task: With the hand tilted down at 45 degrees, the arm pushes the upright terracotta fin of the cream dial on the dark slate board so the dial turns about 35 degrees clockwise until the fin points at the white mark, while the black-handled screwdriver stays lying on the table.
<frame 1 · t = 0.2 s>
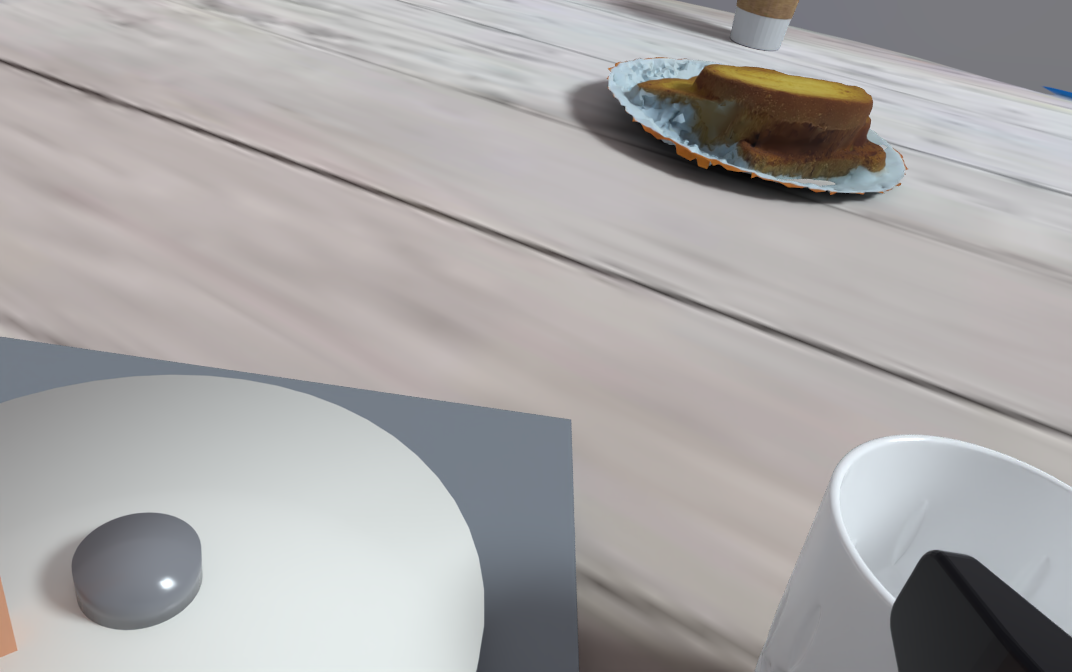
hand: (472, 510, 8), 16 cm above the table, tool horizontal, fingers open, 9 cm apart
board: (149, 659, 24), on the table
dial: (103, 494, 21), point 6 cm above the table, hinge at 0.0°
food on plate: (744, 145, 73), on the table
coffee cup: (753, 44, 103), on the table
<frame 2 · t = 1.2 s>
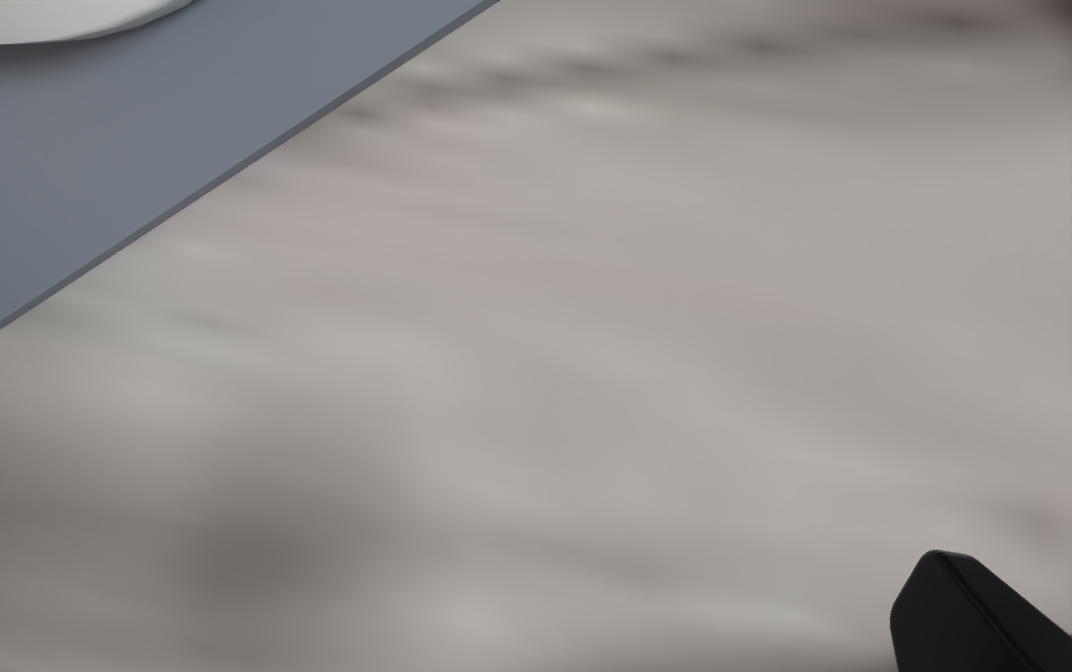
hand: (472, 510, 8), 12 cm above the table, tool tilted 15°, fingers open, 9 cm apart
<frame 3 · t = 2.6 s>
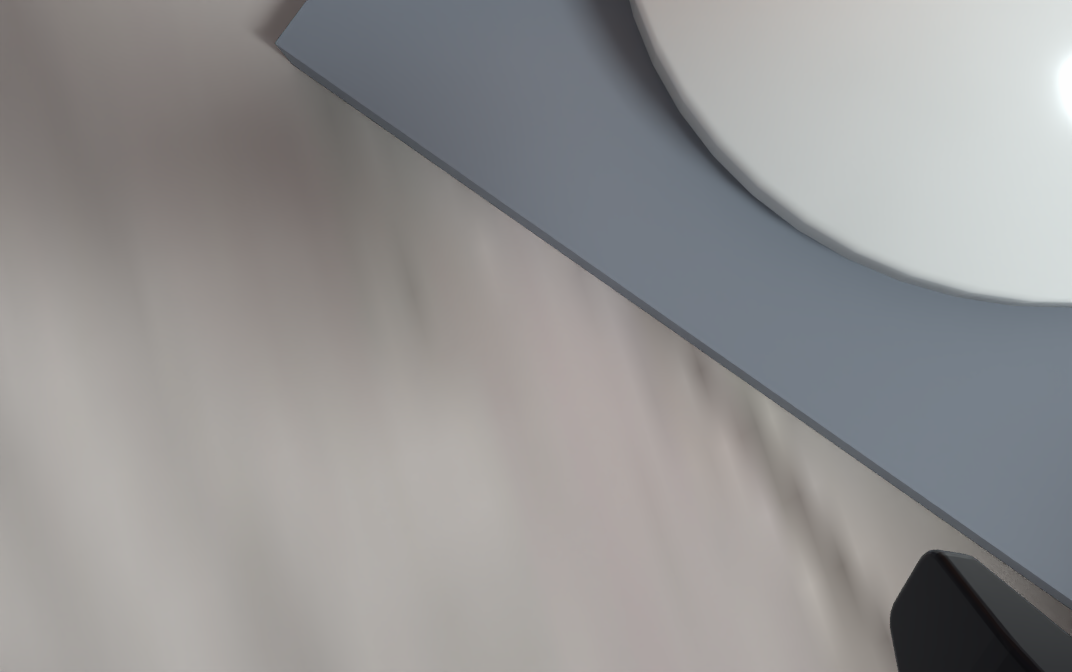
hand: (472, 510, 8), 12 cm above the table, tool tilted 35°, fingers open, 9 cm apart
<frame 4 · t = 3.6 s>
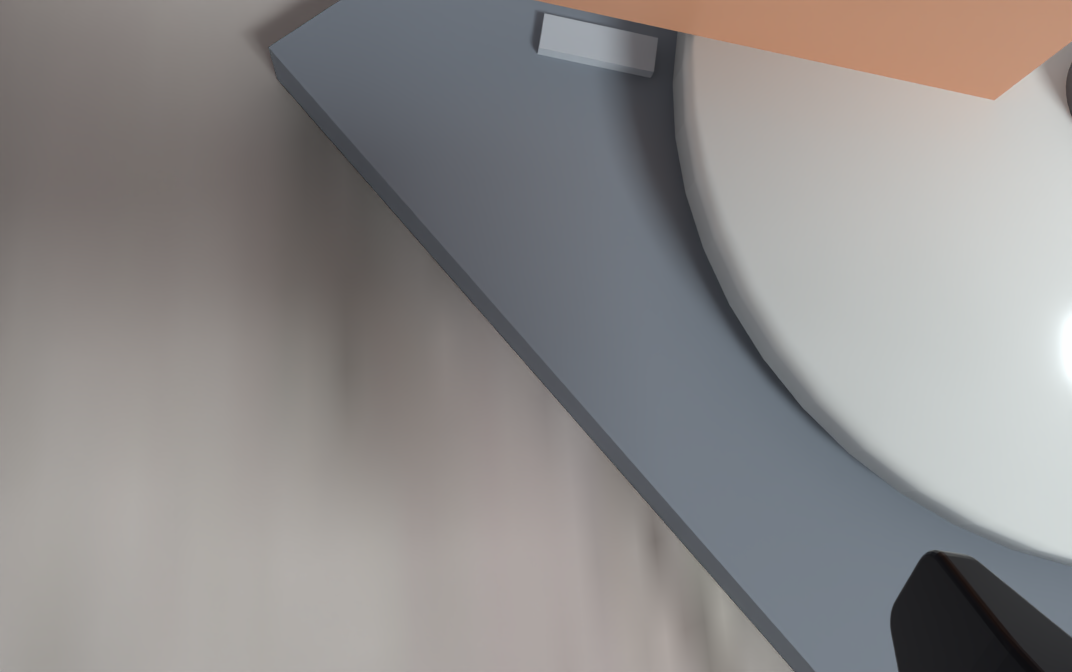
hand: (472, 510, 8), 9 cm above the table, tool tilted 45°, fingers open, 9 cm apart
board: (1025, 170, 20), on the table
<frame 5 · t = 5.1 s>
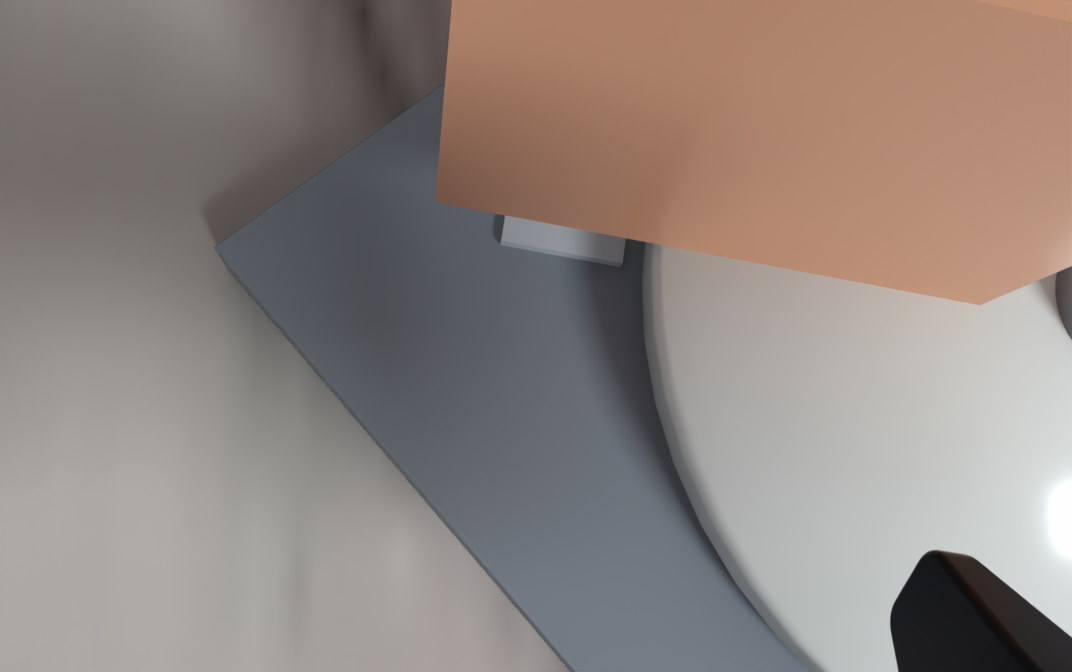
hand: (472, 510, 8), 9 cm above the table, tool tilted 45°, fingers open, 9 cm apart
board: (1014, 342, 19), on the table
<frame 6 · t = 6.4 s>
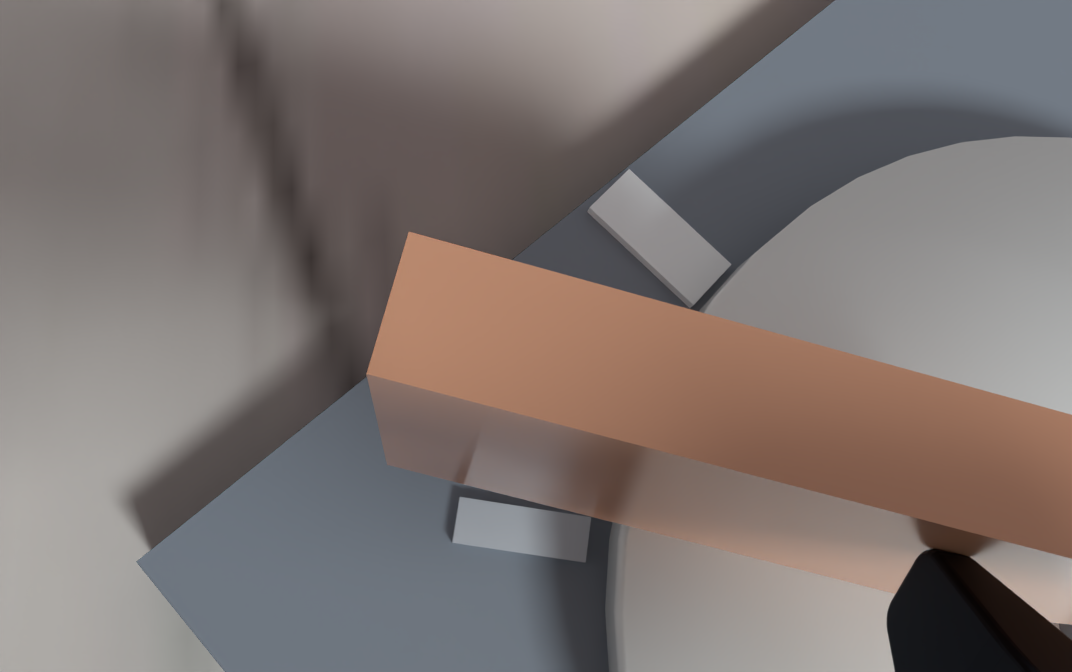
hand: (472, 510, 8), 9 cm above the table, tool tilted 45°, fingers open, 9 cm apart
board: (1012, 607, 18), on the table
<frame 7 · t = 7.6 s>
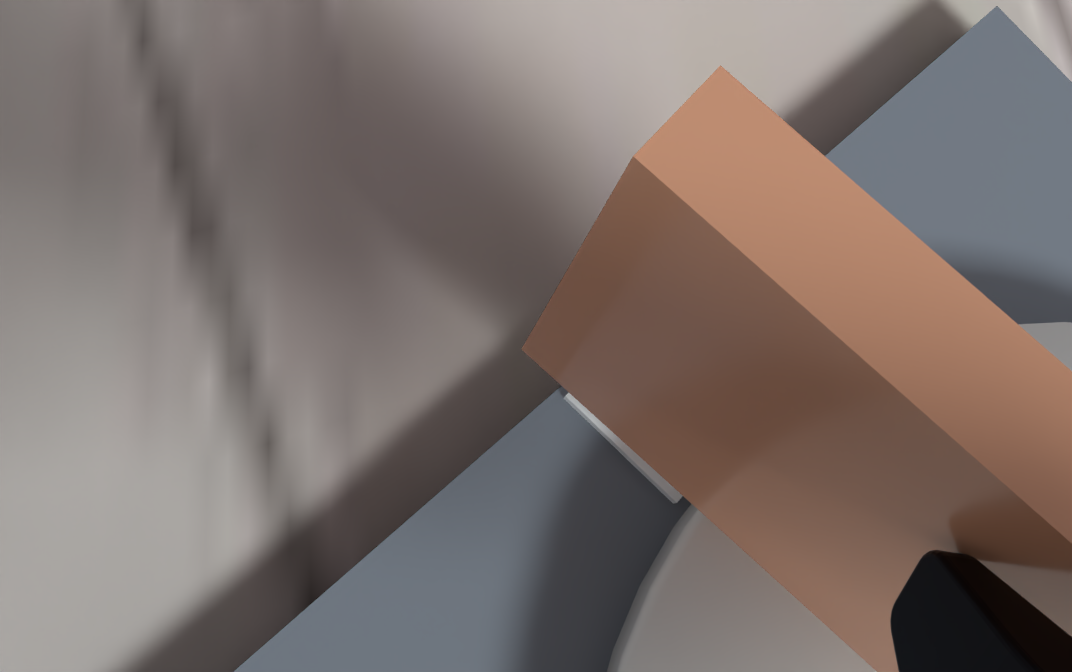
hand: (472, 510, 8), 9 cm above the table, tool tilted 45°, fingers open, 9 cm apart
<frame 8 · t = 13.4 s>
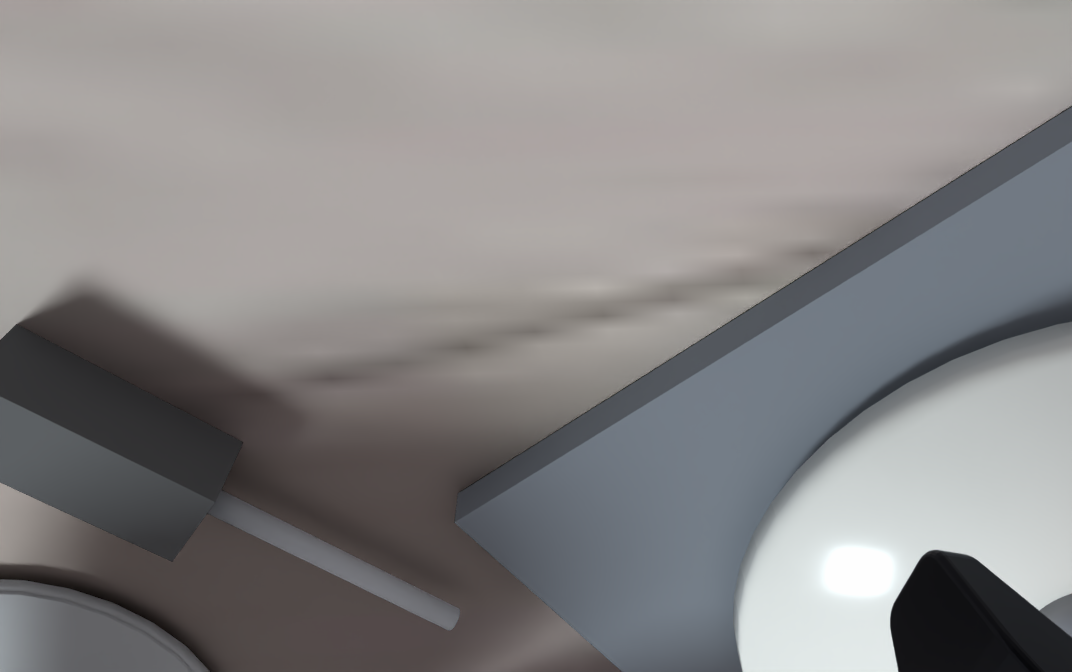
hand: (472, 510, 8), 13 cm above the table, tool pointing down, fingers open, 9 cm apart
board: (1023, 543, 26), on the table
screwdriver: (201, 456, 25), on the table
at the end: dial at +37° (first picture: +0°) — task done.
